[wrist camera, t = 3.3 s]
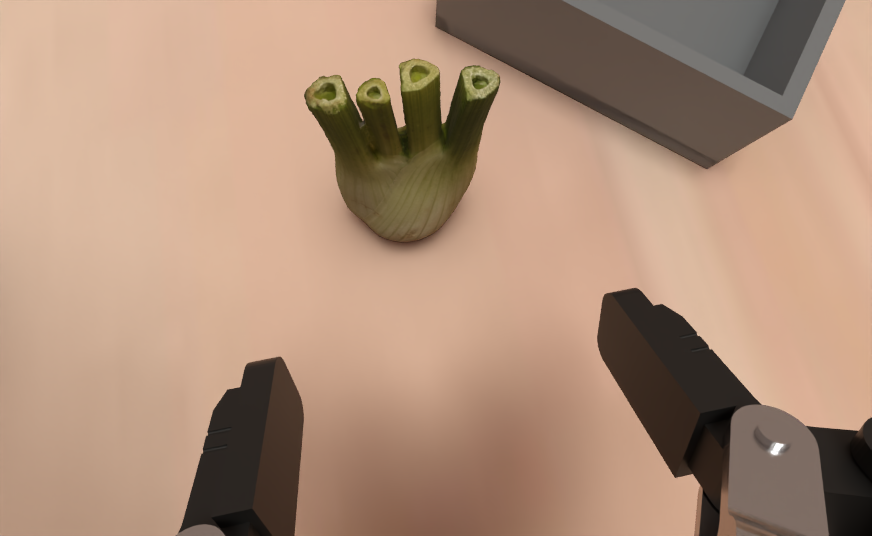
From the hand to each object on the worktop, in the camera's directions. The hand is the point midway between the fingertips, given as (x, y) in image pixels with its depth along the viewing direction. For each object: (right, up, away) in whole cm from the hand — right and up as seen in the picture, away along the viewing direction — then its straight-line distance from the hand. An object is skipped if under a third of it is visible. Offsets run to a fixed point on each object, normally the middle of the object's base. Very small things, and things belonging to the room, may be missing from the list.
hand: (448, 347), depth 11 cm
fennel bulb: (-2, +5, +14) cm, 15 cm away
